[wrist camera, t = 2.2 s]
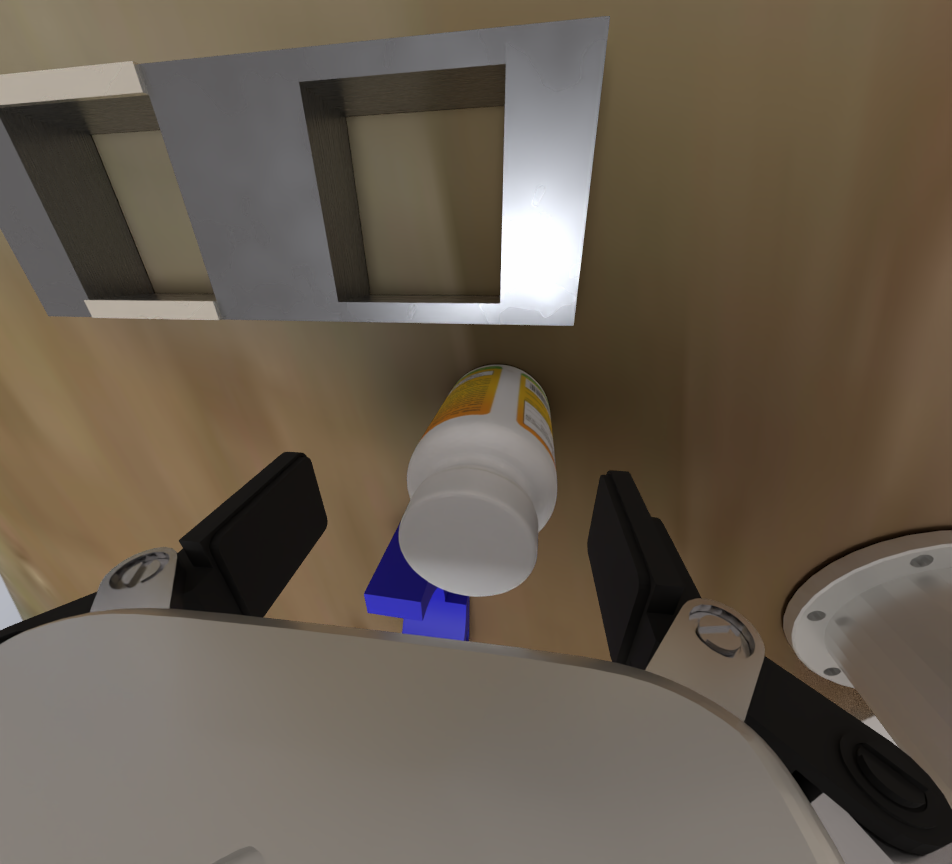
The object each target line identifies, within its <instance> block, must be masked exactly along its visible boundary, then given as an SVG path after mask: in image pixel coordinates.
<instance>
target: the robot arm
mask: <svg viewBox="0 0 952 864" xmlns="http://www.w3.org/2000/svg"><path fill="white" fill-rule="evenodd" d="M326 527H327V516H326V513H325V509H324V505H323V502H322V498H321V495H320V491H319V487H318V484H317V480H316V477H315V473H314V469H313V466H312V462H311V460H310V458H308V457H307V456H306V455H305V454H304V453H298V452H284V453H282V454H281V455H280V456H279V457H277V458H276V459H275V460H274V461H273V462H272V463H270V464H269V465H268V466H267V467H266V468H264V469H263V470H262V471H261V472H260V473H258V474H257V475H256V476H255V477H254V478H252V479H251V480H250V481H249V482H248V483H247V484H245V485H244V486H243V487H242V488H241V489H239V490H238V491H237V492H236V493H235V494H233V495H232V496H231V497H230V498H229V499H227V500H226V501H225V502H224V503H223V504H222V505H220V506H219V507H218V508H217V509H216V510H214V511H213V512H212V513H211V514H210V515H208V516H207V517H206V518H205V519H204V520H202V521H201V522H200V523H199V524H198V525H196V526H195V527H194V528H193V529H192V530H191V531H189V532H188V533H187V534H186V535H185V536H183V537H182V538H181V539H180V540H179V542H180V544H181V545H182V547H183V549H182V550H181V551H180V552H179V553H177V552H176V551H175V550H174V549H172V548H167V547H161V548H154V549H150V550H146V551H143V552H141V553H138V554H136V555H134V556H132V557H130V558H128V559H126V560H124V561H123V562H121V563H120V564H118V565H117V566H116V567H114V568H113V569H112V570H111V571H110V572H109V573H108V574H107V575H106V576H105V577H104V578H103V580H102V582H101V583H100V586H99V589H98V591H97V592H95V593H93V594H90V595H88V596H85V597H83V598H80V599H78V600H75V601H72V602H70V603H67V604H65V605H62V606H60V607H57V608H55V609H52V610H50V611H47V612H45V613H42V614H40V615H37V616H34V617H32V618H29V619H27V620H24V621H22V622H19V623H17V624H14V625H12V626H9V627H7V628H5V629H3V630H0V864H952V530H946V531H934V532H927V533H920V534H913V535H907V536H903V537H899V538H895V539H891V540H887V541H883V542H879V543H877V544H874V545H871V546H868V547H866V548H863V549H860V550H857V551H855V552H852V553H850V554H848V555H846V556H844V557H842V558H840V559H838V560H836V561H834V562H832V563H830V564H829V565H827V566H826V567H825V568H823V569H822V570H820V571H819V572H817V573H816V574H814V575H813V576H812V577H810V578H809V579H808V580H807V581H806V582H805V583H804V584H803V585H802V586H801V587H800V588H799V589H798V590H797V592H796V593H795V594H794V596H793V597H792V599H791V600H790V602H789V603H788V606H787V609H786V611H785V614H784V619H783V630H784V633H785V636H786V639H787V641H788V643H789V644H790V646H791V647H792V649H793V650H794V652H795V653H796V655H797V656H798V658H799V659H800V660H801V661H802V662H803V663H804V664H805V665H806V666H807V667H808V668H809V669H810V670H812V671H813V672H815V673H816V674H818V675H819V676H821V677H823V678H826V679H828V680H830V681H833V682H835V683H838V684H840V685H843V686H847V687H851V688H855V689H856V690H857V692H858V693H859V694H860V696H861V697H862V698H863V700H864V701H865V702H866V704H867V705H868V706H869V708H870V709H871V710H872V712H873V713H874V715H875V716H876V717H877V719H878V720H879V721H880V723H881V724H882V725H883V726H884V728H885V729H886V731H887V732H888V733H889V735H890V736H891V737H892V739H893V740H894V741H895V743H896V744H897V745H898V747H899V748H898V747H897V746H896V745H894V744H893V743H892V742H890V741H889V740H887V739H886V738H885V737H883V736H882V735H880V734H878V733H877V732H876V731H874V730H873V729H871V728H870V727H868V726H867V725H865V724H864V723H862V722H861V721H860V720H858V719H857V718H855V717H854V716H852V715H851V714H849V713H848V712H846V711H845V710H843V709H842V708H840V707H839V706H837V705H836V704H835V703H833V702H832V701H830V700H829V699H827V698H826V697H824V696H823V695H821V694H820V693H818V692H817V691H815V690H814V689H812V688H811V687H809V686H808V685H807V684H805V683H804V682H802V681H801V680H799V679H798V678H796V677H795V676H793V675H792V674H790V673H789V672H787V671H786V670H784V669H783V668H781V667H780V666H779V665H777V664H776V663H774V662H773V661H771V660H770V659H768V658H767V657H765V656H764V655H765V647H764V644H763V641H762V639H761V636H760V635H759V633H758V632H757V631H756V629H755V628H754V626H753V625H752V624H751V623H750V622H749V621H748V620H747V619H746V618H745V617H744V616H743V615H741V614H740V613H738V612H737V611H735V610H734V609H732V608H731V607H729V606H727V605H724V604H722V603H720V602H718V601H714V600H710V599H703V598H701V596H700V594H699V592H698V590H697V588H696V586H695V584H694V583H693V581H692V579H691V577H690V575H689V573H688V571H687V569H686V567H685V565H684V563H683V561H682V559H681V557H680V555H679V553H678V552H677V550H676V548H675V546H674V544H673V542H672V540H671V538H670V536H669V534H668V532H667V530H666V528H665V526H664V524H663V523H662V521H661V520H660V519H659V518H655V517H651V516H650V514H649V512H648V510H647V508H646V506H645V504H644V501H643V499H642V497H641V495H640V493H639V491H638V489H637V487H636V485H635V483H634V481H633V479H632V477H631V475H630V473H629V472H626V471H608V472H607V474H606V475H601V476H600V480H599V485H598V490H597V495H596V500H595V505H594V511H593V516H592V521H591V526H590V531H589V536H588V544H587V547H588V555H589V559H590V564H591V568H592V573H593V578H594V582H595V587H596V591H597V596H598V601H599V605H600V610H601V614H602V619H603V624H604V628H605V633H606V637H607V642H608V647H609V651H610V656H611V660H612V662H609V661H604V660H599V659H593V658H588V657H583V656H575V655H568V654H561V653H554V652H547V651H540V650H532V649H525V648H518V647H510V646H502V645H494V644H485V643H477V642H469V641H461V640H453V639H444V638H436V637H428V636H420V635H411V634H403V633H394V632H386V631H377V630H369V629H360V628H351V627H343V626H334V625H325V624H317V623H308V622H299V621H290V620H281V619H272V618H263V617H264V616H265V614H266V613H267V611H268V610H269V609H270V607H271V606H272V604H273V603H274V602H275V600H276V599H277V597H278V596H279V595H280V593H281V592H282V590H283V589H284V587H285V586H286V585H287V583H288V582H289V580H290V579H291V578H292V576H293V575H294V573H295V572H296V571H297V569H298V568H299V566H300V565H301V563H302V562H303V561H304V559H305V558H306V556H307V555H308V554H309V552H310V551H311V549H312V548H313V547H314V545H315V544H316V542H317V541H318V539H319V538H320V537H321V535H322V534H323V532H324V531H325V529H326Z"/></svg>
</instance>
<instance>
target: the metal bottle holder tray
mask: <svg viewBox="0 0 952 864" xmlns="http://www.w3.org/2000/svg"><path fill="white" fill-rule="evenodd" d="M609 20H610V16H605V17H595V18H585V19H575V20H565V21H556V22H546V23H536V24H526V25H517V26H507V27H497V28H487V29H478V30H468V31H458V32H448V33H438V34H429V35H419V36H409V37H399V38H390V39H380V40H370V41H360V42H350V43H341V44H331V45H321V46H311V47H302V48H292V49H282V50H272V51H263V52H253V53H243V54H233V55H223V56H214V57H204V58H194V59H184V60H175V61H165V62H155V63H145V64H137V63H135V62H133V61H128V62H119V63H109V64H99V65H90V66H80V67H71V68H61V69H51V70H42V71H32V72H22V73H13V74H3V75H0V229H1V230H2V232H3V234H4V236H5V238H6V240H7V241H8V243H9V245H10V247H11V249H12V250H13V252H14V254H15V256H16V258H17V260H18V261H19V263H20V265H21V267H22V269H23V270H24V272H25V274H26V276H27V278H28V280H29V281H30V283H31V285H32V287H33V289H34V290H35V292H36V294H37V296H38V298H39V300H40V301H41V303H42V305H43V307H44V309H45V311H46V312H47V314H48V316H71V317H92V318H137V319H190V320H222V319H234V320H288V321H342V322H396V323H451V324H505V325H559V326H573V325H574V317H575V309H576V300H577V292H578V283H579V275H580V266H581V258H582V249H583V241H584V232H585V224H586V215H587V207H588V198H589V190H590V181H591V173H592V164H593V156H594V147H595V139H596V130H597V122H598V113H599V105H600V96H601V88H602V80H603V71H604V63H605V54H606V46H607V37H608V29H609ZM503 105H505V123H504V166H503V209H502V252H501V295H500V296H462V295H370V291H369V284H368V277H367V269H366V262H365V255H364V248H363V240H362V233H361V226H360V219H359V211H358V204H357V197H356V190H355V182H354V175H353V168H352V161H351V153H350V146H349V139H348V132H347V125H346V117H347V116H361V115H375V114H390V113H404V112H418V111H432V110H446V109H461V108H475V107H489V106H503ZM148 130H161V133H162V136H163V139H164V142H165V145H166V148H167V151H168V154H169V157H170V160H171V163H172V167H173V170H174V173H175V176H176V179H177V182H178V185H179V188H180V191H181V194H182V197H183V200H184V203H185V206H186V209H187V212H188V215H189V218H190V221H191V224H192V227H193V230H194V233H195V236H196V239H197V242H198V245H199V248H200V251H201V254H202V257H203V261H204V264H205V267H206V270H207V273H208V276H209V279H210V282H211V285H212V288H213V291H214V294H168V293H154V291H153V289H152V286H151V284H150V281H149V279H148V276H147V274H146V271H145V269H144V266H143V264H142V261H141V259H140V256H139V254H138V251H137V249H136V247H135V244H134V242H133V239H132V237H131V234H130V232H129V229H128V227H127V224H126V222H125V219H124V217H123V214H122V212H121V209H120V207H119V204H118V202H117V199H116V197H115V195H114V192H113V190H112V187H111V185H110V182H109V180H108V177H107V175H106V172H105V170H104V167H103V165H102V162H101V160H100V157H99V155H98V152H97V150H96V147H95V145H94V143H93V140H92V138H91V134H106V133H120V132H134V131H148Z"/></svg>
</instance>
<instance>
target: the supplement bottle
mask: <svg viewBox="0 0 952 864" xmlns="http://www.w3.org/2000/svg"><path fill="white" fill-rule="evenodd" d="M407 486H408V492H409V496H410V499H411V500H410V502H409V504H408V506H407V509H406V511H405V513H404V515H403V517H402V520H401V522H400V526H399V544H400V548H401V551H402V553H403V555H404V557H405V559H406V561H407V562H408V564H409V565H410V566H411V567H412V569H413V570H414V571H415V572H416V573H417V574H419V575H420V576H421V577H422V578H424V579H425V580H426V581H428V582H430V583H431V584H433V585H435V586H437V587H439V588H441V589H443V590H446V591H448V592H452V593H455V594H460V595H465V596H477V597H479V596H491V595H497V594H501V593H504V592H507V591H509V590H511V589H513V588H515V587H517V586H518V585H520V584H521V583H522V582H524V580H525V579H526V578H527V577H528V576H529V575H530V573H531V572H532V570H533V568H534V566H535V563H536V560H537V550H538V532H539V531H540V530H541V529H542V528H543V527H544V526H545V524H546V523H547V522H548V520H549V518H550V517H551V515H552V512H553V510H554V507H555V503H556V498H557V473H556V464H555V454H554V444H553V434H552V424H551V414H550V408H549V403H548V400H547V397H546V395H545V393H544V391H543V389H542V388H541V386H540V385H539V384H538V383H537V381H536V380H535V379H534V378H532V377H531V376H530V375H529V374H527V373H526V372H524V371H522V370H520V369H518V368H515V367H512V366H507V365H487V366H483V367H479V368H477V369H474V370H472V371H470V372H468V373H467V374H466V375H464V376H463V377H462V378H461V379H460V380H459V381H458V382H457V383H456V384H455V386H454V387H453V388H452V390H451V392H450V393H449V395H448V396H447V398H446V400H445V401H444V403H443V404H442V406H441V408H440V409H439V411H438V413H437V414H436V416H435V417H434V419H433V420H432V422H431V424H430V425H429V427H428V428H427V430H426V432H425V433H424V435H423V436H422V438H421V440H420V441H419V443H418V445H417V447H416V448H415V451H414V453H413V455H412V457H411V459H410V462H409V466H408V471H407Z"/></svg>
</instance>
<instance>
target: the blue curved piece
mask: <svg viewBox="0 0 952 864" xmlns="http://www.w3.org/2000/svg"><path fill="white" fill-rule="evenodd" d="M399 526H400V524H399ZM399 526H398V528H397V530H396V532H395V534H394V536H393V538H392V540H391V541H390V543H389V545H388V547H387V549H386V551H385V553H384V555H383V557H382V559H381V561H380V563H379V565H378V567H377V569H376V571H375V573H374V575H373V577H372V579H371V581H370V583H369V585H368V587H367V589H366V591H365V593H364V596H365V601H366V606H367V611H368V613H373V614H379V615H385V616H392V617H398V618H404V621H403V631H402V633H403V634H411V635H420V636H428V637H436V638H444V639H453V640H461V641H469V596H465V595H460V594H455V593H452V592H448V591H446V590H443V589H441V588H439V587H437V586H435V585H433V584H431V583H430V582H428V581H426V580H425V579H424V578H422V577H421V576H420V575H419V574H417V573H416V572H415V571H414V570H413V569H412V567H411V566H410V565H409V564H408V562H407V561H406V559H405V557H404V555H403V553H402V551H401V548H400V544H399Z"/></svg>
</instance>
